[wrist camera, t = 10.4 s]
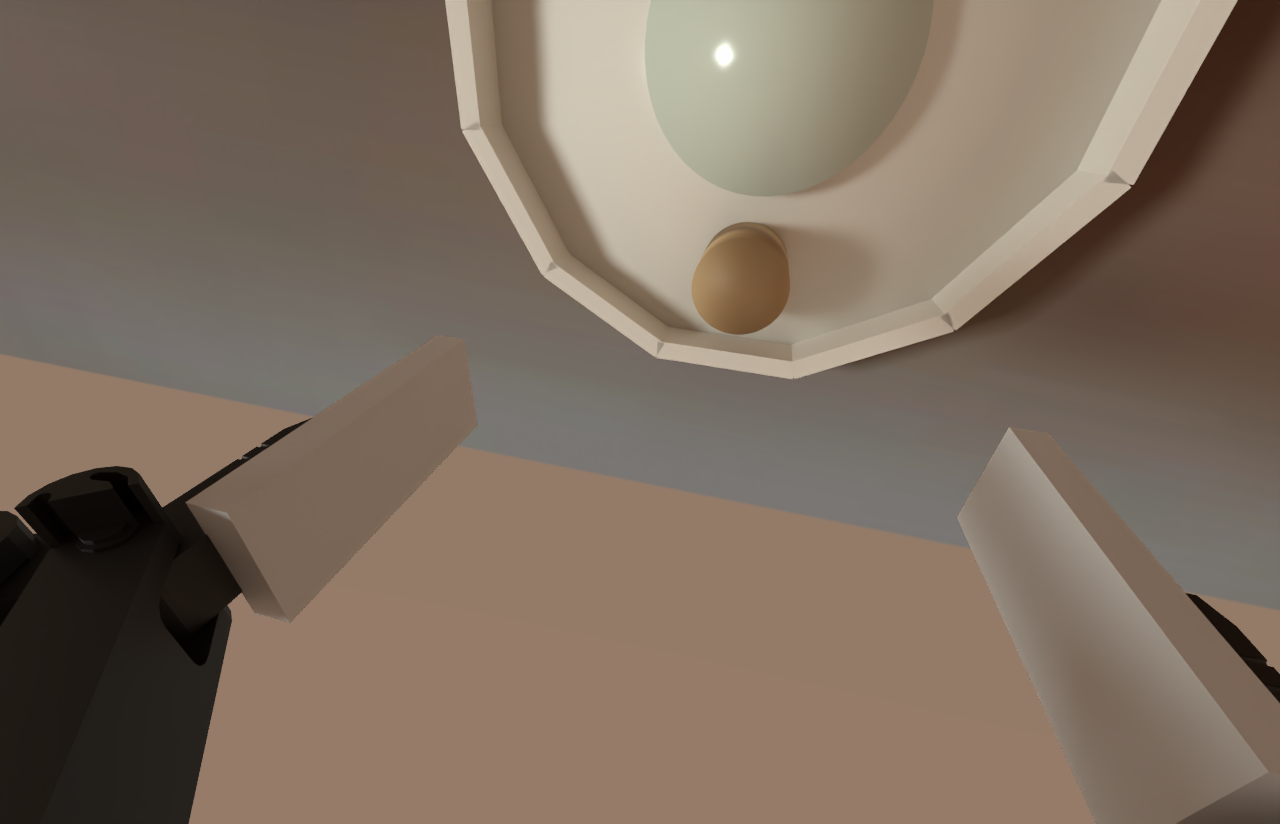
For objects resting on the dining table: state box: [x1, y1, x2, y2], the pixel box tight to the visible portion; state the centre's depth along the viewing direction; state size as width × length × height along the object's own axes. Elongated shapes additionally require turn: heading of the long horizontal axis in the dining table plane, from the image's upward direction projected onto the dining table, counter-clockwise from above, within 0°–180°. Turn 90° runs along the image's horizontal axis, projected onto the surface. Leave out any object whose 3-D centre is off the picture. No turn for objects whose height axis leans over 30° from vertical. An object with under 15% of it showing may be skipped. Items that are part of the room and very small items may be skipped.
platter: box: [445, 0, 1238, 379], centre depth 20 cm, size 28×28×3 cm
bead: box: [692, 222, 790, 335], centre depth 23 cm, size 4×4×4 cm
